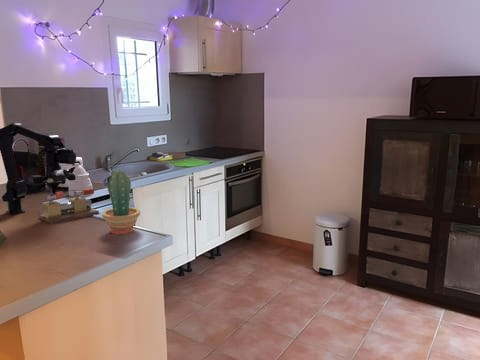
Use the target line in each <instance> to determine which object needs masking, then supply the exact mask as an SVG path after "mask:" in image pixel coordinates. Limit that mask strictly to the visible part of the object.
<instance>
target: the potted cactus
mask: <svg viewBox="0 0 480 360" xmlns="http://www.w3.org/2000/svg"><path fill="white" fill-rule="evenodd" d="M103 178H104V179H103V180H102V186H103V189H106V188H107V191H108V194H109V196H110V197H111V200H112V202H111V207H112V208H107V209H106V210H103V211H101V217H102V218H103V219H104V221H105V223H106V225H107V226H108V228H110V229H111V230H110V232H111V233H112V234H116V235H123V234H124V233H125V234H128V233H132V231H134V226H135V225H136V223H137V221H138V218H139V216H140V215H141V209H139V208H136V207H130V201H129V196H130V194H131V188H132V181H131V179H130V177H129V176H128V174H127V173H126V171H124V170H123V169H122V170H112V172H110V173H107V174H106V175H105V177H103ZM111 200H110V201H111Z"/></svg>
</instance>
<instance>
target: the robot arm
mask: <svg viewBox="0 0 480 360" xmlns="http://www.w3.org/2000/svg"><path fill="white" fill-rule="evenodd" d="M18 134H19V135H21V136H23V137H25V138H28V139H30V140H33V141H36V142H37V143H38V144H39V145H40V146H41V147H43V148H42V150H40V153H42V154H43V153H45V160H44V161H45V164H44V168H45V173H44V176H42V175H39V174H35V175H30V176H29V177H28V182H29V183H31V184H42V183H43V184H46V186H47V188H48V189H49V192H50V193H51V194H50V195H52V194H53V193H56V192H57V189H58V188H59V187H58V185H59V184H60V183H62V181H64V180H65V179H68V180H69V181H70V180H76V176H75V175H74V174H72V173H69V170H68V169H66V170H61V165H59V163H61V164H74V163H75V162H76V157H77V155H76V153H75V152H74V149H73V148H70V149H69V148H67V147H66V146H65V145H64V143H63V141H62V140H61V138H60V136H59V135H57V134H54V133H45V132H41V131H39V130H37V129H35V128H31V127H29V126H27V125H24V124H22V123H21V122H12V123H10V124H8V125H7V126H4V127H2V128H0V155H1V159H2V164H3V166H4V171H5V174H6V178H7V182H6V184H5V190H6V192H5V193H3V195H2V196H1V200H2V202H5V203H6V202H7V203H6V204H7V210H6V211H5V213H6V214H8V215H9V216H10V215H16V214H21V213H22V214H23V213H26V211H25V210H24V209H23V203H22V199H26V195H27V193H28V188H29V187H28V185H27V180H25V179H24V180H23V179H22V178H21V177H20V173H19V170H18V167H17V160H16V157H15V153H14V151H13V145H14V142H15V140H14V139H15V137H16V136H17V135H18Z"/></svg>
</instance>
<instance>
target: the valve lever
mask: <svg viewBox="0 0 480 360" xmlns="http://www.w3.org/2000/svg"><path fill="white" fill-rule="evenodd" d="M62 197H64V191H56V192H55V193H53V194H48V195H47V196H46V199H47V201H48V202H49V201H52V200H53V201H55V200H56V199H57V200H59V199H60V198H62Z"/></svg>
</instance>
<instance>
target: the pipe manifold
mask: <svg viewBox="0 0 480 360" xmlns="http://www.w3.org/2000/svg"><path fill="white" fill-rule="evenodd" d="M92 188H93V187H92ZM92 188H91V189H85V190H81V191H74V196H75V197H71V198H70V197H69V198H68V202H65V203H61V202H58V201H55V200H52V201H48V202H43V203H42V202H41V209H42V210H41V211H42V214H43V217H46V218H48V219H50V218H55V217H60V216H61V214H62V215H66V214H68V211H70V212H73V213H80V212H85V211H87V210H91V208H92V200H91V199H90V198H87V199H86V198H84V197H79V196H80V195H89V194H92V195H94V194H95V189H94V188H93V189H92ZM89 196H90V195H89Z"/></svg>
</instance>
